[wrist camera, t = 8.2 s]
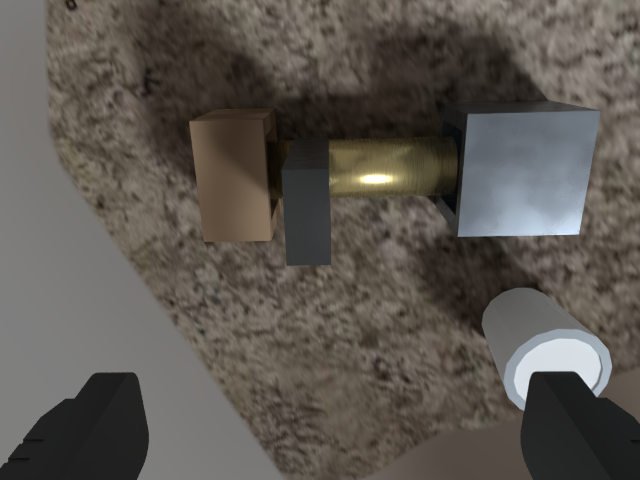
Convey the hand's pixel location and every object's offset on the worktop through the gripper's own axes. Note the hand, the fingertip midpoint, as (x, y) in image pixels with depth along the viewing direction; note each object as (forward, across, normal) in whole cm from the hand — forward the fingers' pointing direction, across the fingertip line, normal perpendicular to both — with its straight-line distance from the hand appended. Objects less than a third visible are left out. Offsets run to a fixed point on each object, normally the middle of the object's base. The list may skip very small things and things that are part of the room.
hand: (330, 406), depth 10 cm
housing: (+25, -11, 0) cm, 27 cm away
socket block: (+25, +6, 0) cm, 25 cm away
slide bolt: (+23, -1, 0) cm, 23 cm away
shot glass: (+25, -14, +13) cm, 32 cm away
